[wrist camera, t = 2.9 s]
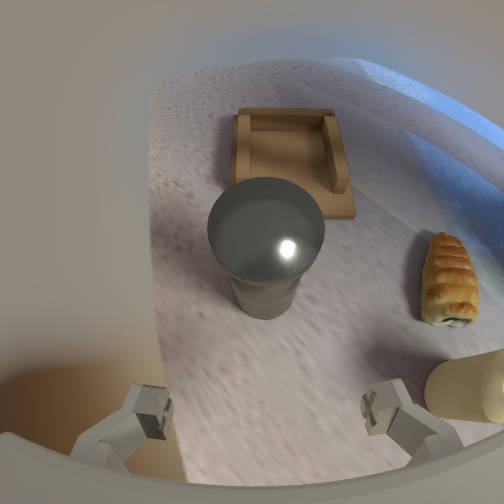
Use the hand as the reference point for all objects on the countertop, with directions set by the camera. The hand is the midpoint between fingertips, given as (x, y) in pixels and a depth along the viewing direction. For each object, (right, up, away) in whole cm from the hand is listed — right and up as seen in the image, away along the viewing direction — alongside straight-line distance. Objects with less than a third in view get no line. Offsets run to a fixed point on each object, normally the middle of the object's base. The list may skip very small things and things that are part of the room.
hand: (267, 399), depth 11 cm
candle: (+17, -7, +10) cm, 21 cm away
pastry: (+18, +2, +14) cm, 23 cm away
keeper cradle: (+3, +15, +20) cm, 26 cm away
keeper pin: (0, +3, +15) cm, 15 cm away
